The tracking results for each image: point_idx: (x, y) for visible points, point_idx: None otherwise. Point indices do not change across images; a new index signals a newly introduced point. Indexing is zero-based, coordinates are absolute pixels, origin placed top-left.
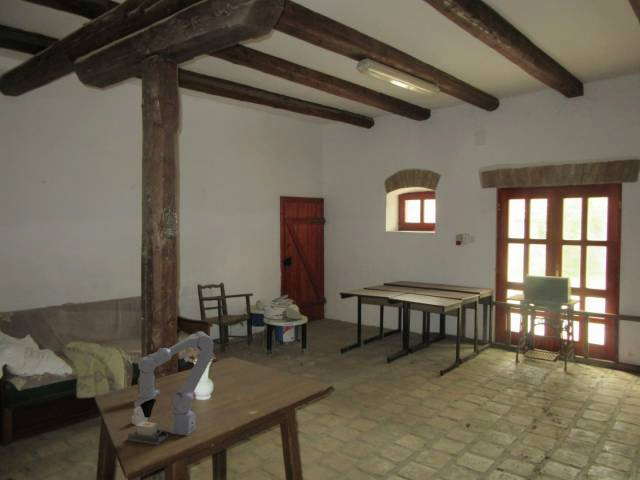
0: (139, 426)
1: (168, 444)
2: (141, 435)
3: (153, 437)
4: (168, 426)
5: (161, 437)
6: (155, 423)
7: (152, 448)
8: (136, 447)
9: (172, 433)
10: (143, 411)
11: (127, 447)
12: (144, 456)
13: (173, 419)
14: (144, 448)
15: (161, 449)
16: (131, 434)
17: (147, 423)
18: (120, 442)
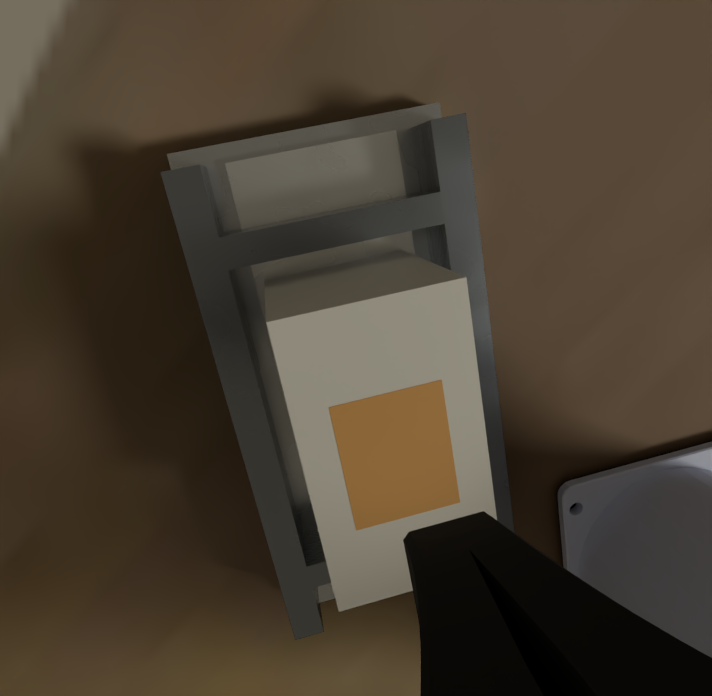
0: (282, 378)
1: (355, 663)
2: (249, 409)
3: (294, 587)
4: (699, 345)
5: None
6: None
7: (201, 609)
8: (104, 447)
9: (561, 528)
10: (431, 682)
11: (27, 347)
12: (21, 680)
13: (706, 644)
14: (147, 542)
15: (238, 691)
16: (186, 238)
17: (430, 437)
18: (57, 122)
